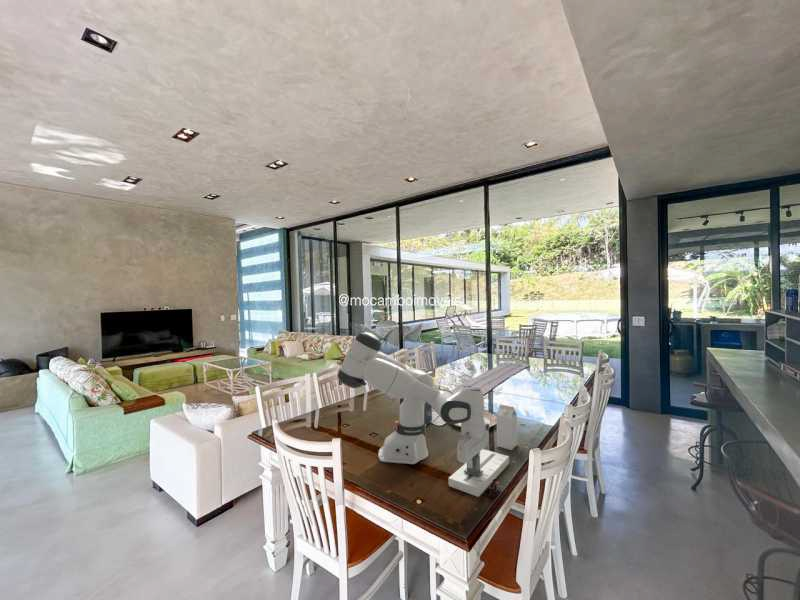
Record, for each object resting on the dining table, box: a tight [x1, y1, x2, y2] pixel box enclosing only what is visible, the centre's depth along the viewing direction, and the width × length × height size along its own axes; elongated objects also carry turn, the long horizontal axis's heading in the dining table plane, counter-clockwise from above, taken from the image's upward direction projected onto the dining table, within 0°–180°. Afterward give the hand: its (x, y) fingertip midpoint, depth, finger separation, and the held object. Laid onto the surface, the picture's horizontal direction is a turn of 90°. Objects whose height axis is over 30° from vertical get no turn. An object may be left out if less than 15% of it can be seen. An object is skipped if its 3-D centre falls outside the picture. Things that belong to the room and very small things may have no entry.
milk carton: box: [496, 404, 518, 451], centre depth 160 cm, size 7×7×19 cm
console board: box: [448, 448, 510, 498], centre depth 135 cm, size 30×12×3 cm, turn 142°
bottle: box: [418, 367, 433, 424], centre depth 195 cm, size 10×10×30 cm
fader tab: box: [464, 455, 483, 477], centre depth 130 cm, size 4×6×6 cm
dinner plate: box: [453, 410, 497, 428], centre depth 190 cm, size 28×27×3 cm
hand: (473, 464), depth 130 cm, fingers closed on fader tab, 3 cm apart
